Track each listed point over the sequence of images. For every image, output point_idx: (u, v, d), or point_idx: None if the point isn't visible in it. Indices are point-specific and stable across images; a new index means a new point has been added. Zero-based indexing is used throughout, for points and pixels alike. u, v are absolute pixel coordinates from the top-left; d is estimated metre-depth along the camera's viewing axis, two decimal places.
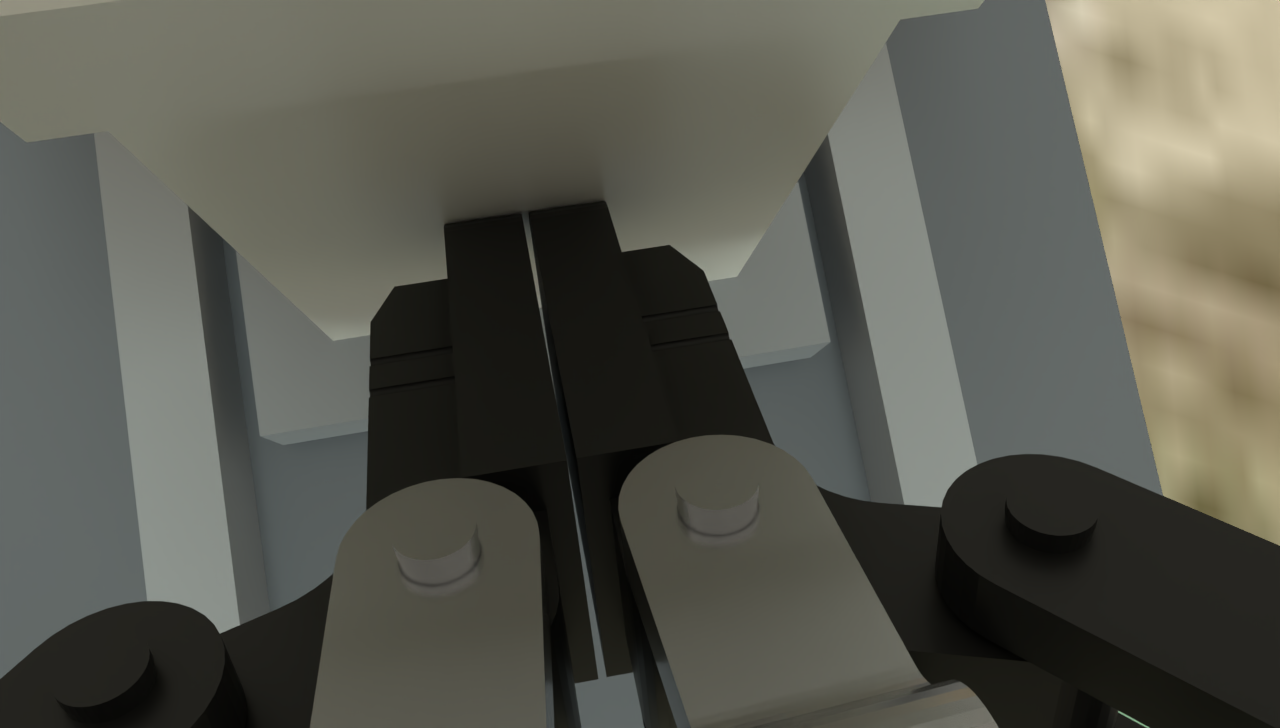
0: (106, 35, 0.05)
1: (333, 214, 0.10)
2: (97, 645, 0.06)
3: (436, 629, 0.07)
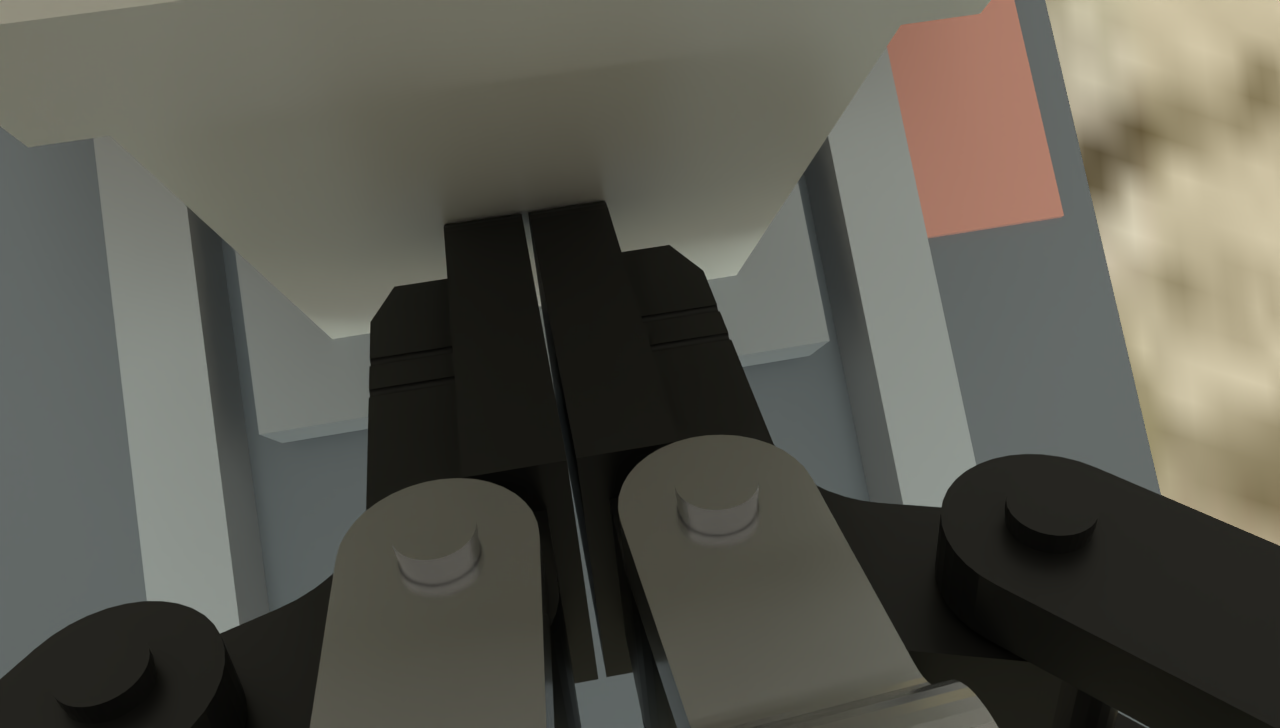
0: (108, 42, 0.05)
1: (334, 214, 0.10)
2: (96, 645, 0.06)
3: (436, 629, 0.07)
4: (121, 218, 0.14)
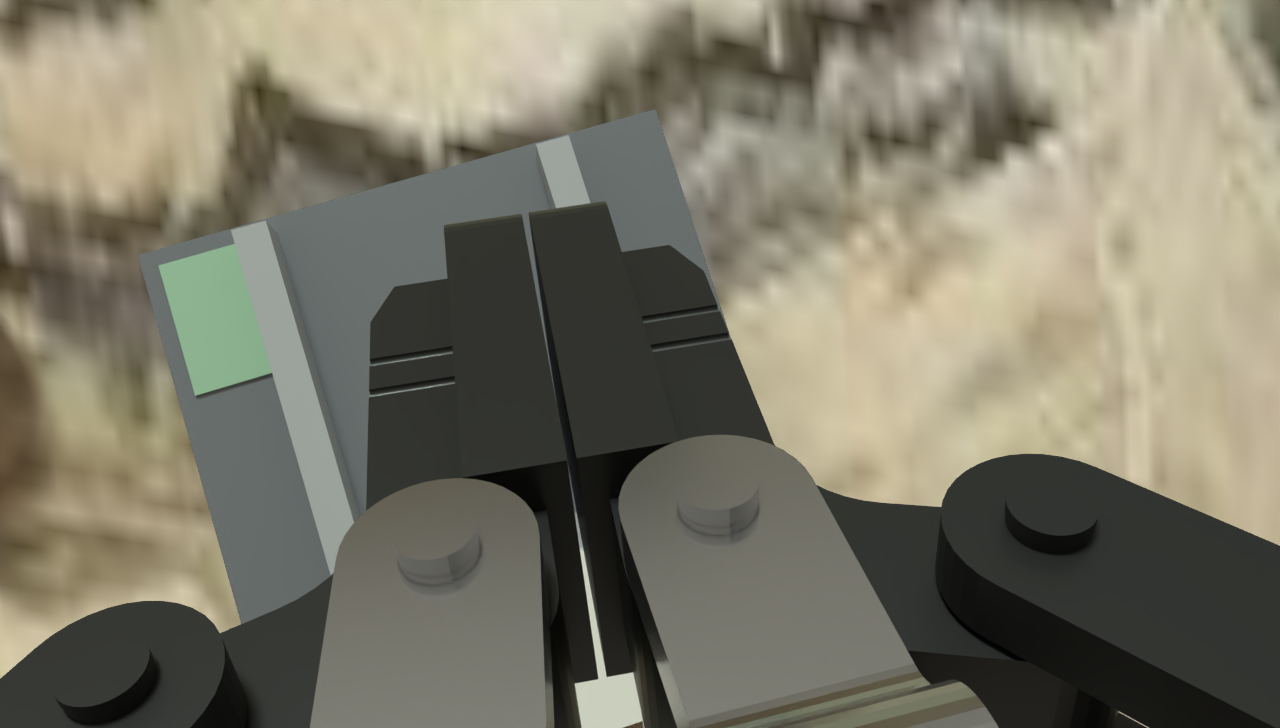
0: None
1: None
2: (96, 645, 0.06)
3: (436, 629, 0.07)
4: None
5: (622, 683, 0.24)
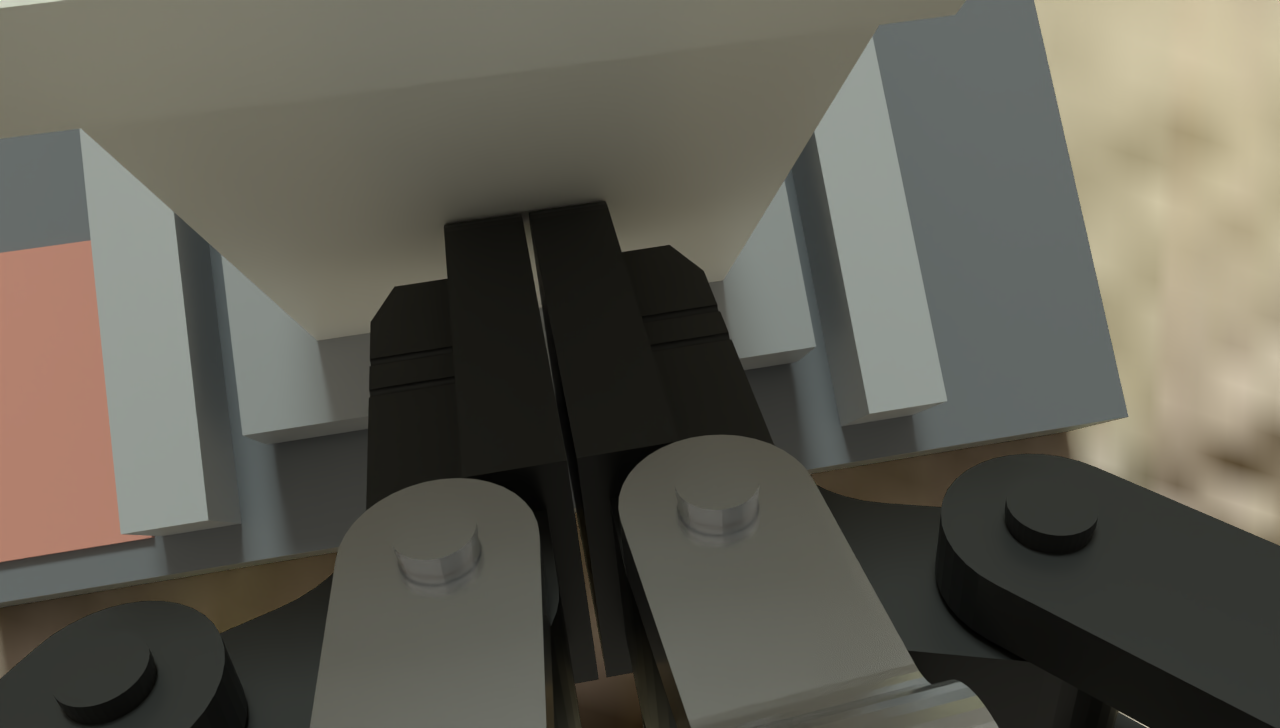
0: None
1: None
2: (94, 645, 0.06)
3: (436, 627, 0.07)
4: (890, 209, 0.15)
5: None
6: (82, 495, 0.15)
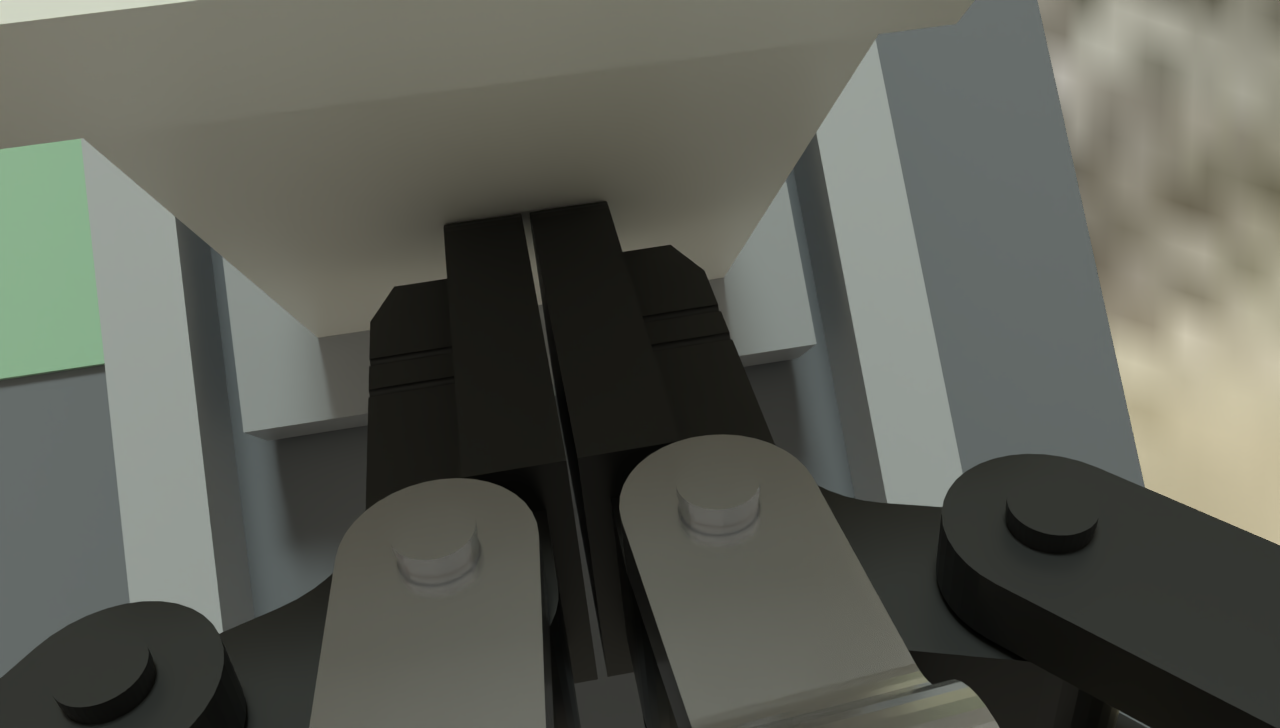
0: None
1: None
2: (94, 645, 0.06)
3: (435, 629, 0.07)
4: None
5: None
6: None
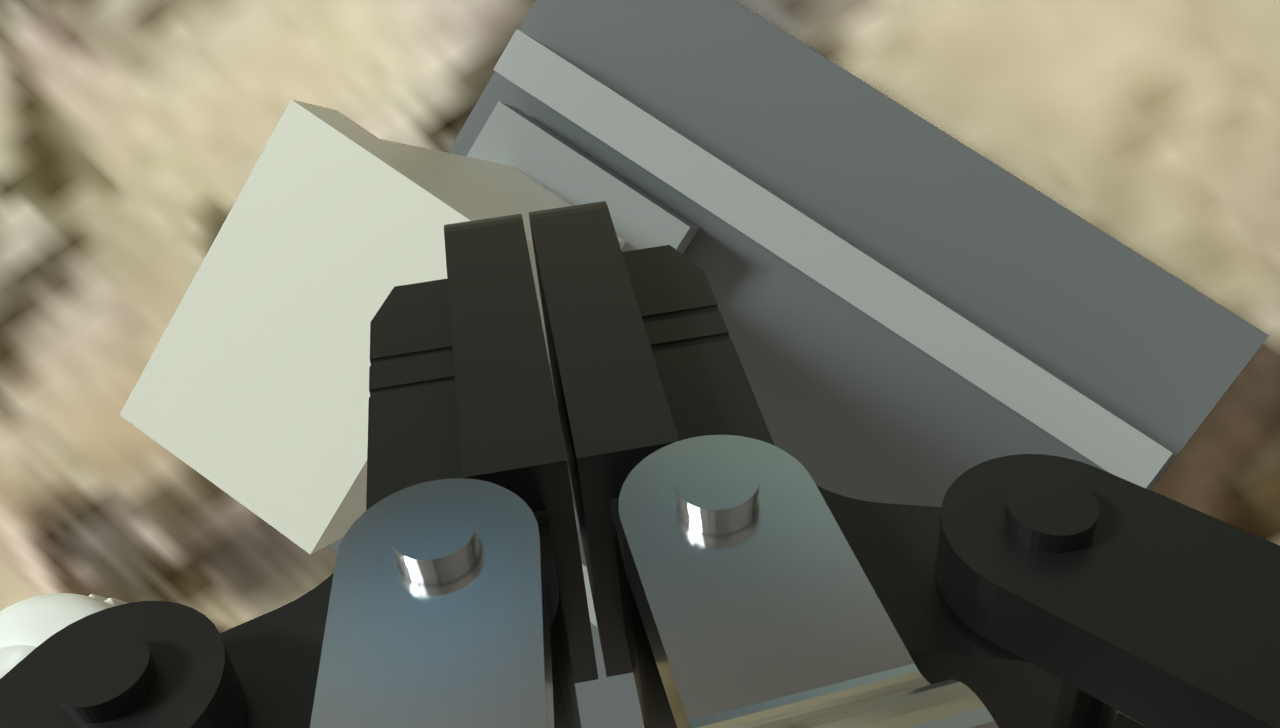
0: None
1: None
2: (97, 645, 0.06)
3: (436, 627, 0.07)
4: (1056, 390, 0.24)
5: (407, 279, 0.17)
6: None
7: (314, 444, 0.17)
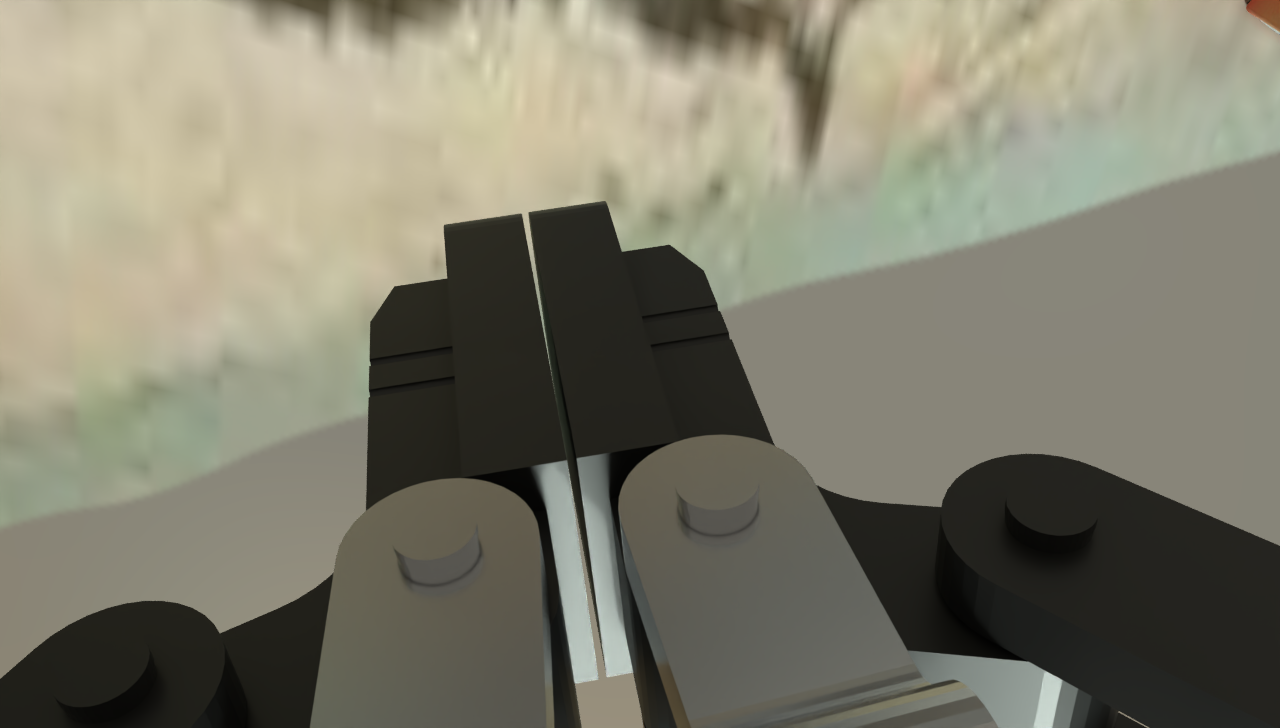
0: None
1: None
2: (96, 645, 0.06)
3: (435, 629, 0.07)
4: None
5: None
6: None
7: None
